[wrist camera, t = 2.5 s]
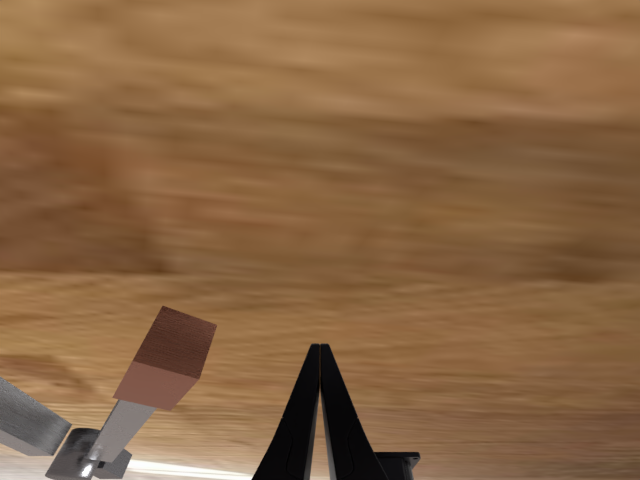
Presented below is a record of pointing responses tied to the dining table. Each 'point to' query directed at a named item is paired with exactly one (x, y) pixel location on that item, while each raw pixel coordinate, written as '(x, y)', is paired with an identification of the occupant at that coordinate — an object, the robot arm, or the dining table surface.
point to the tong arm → (140, 392)
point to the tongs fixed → (42, 430)
